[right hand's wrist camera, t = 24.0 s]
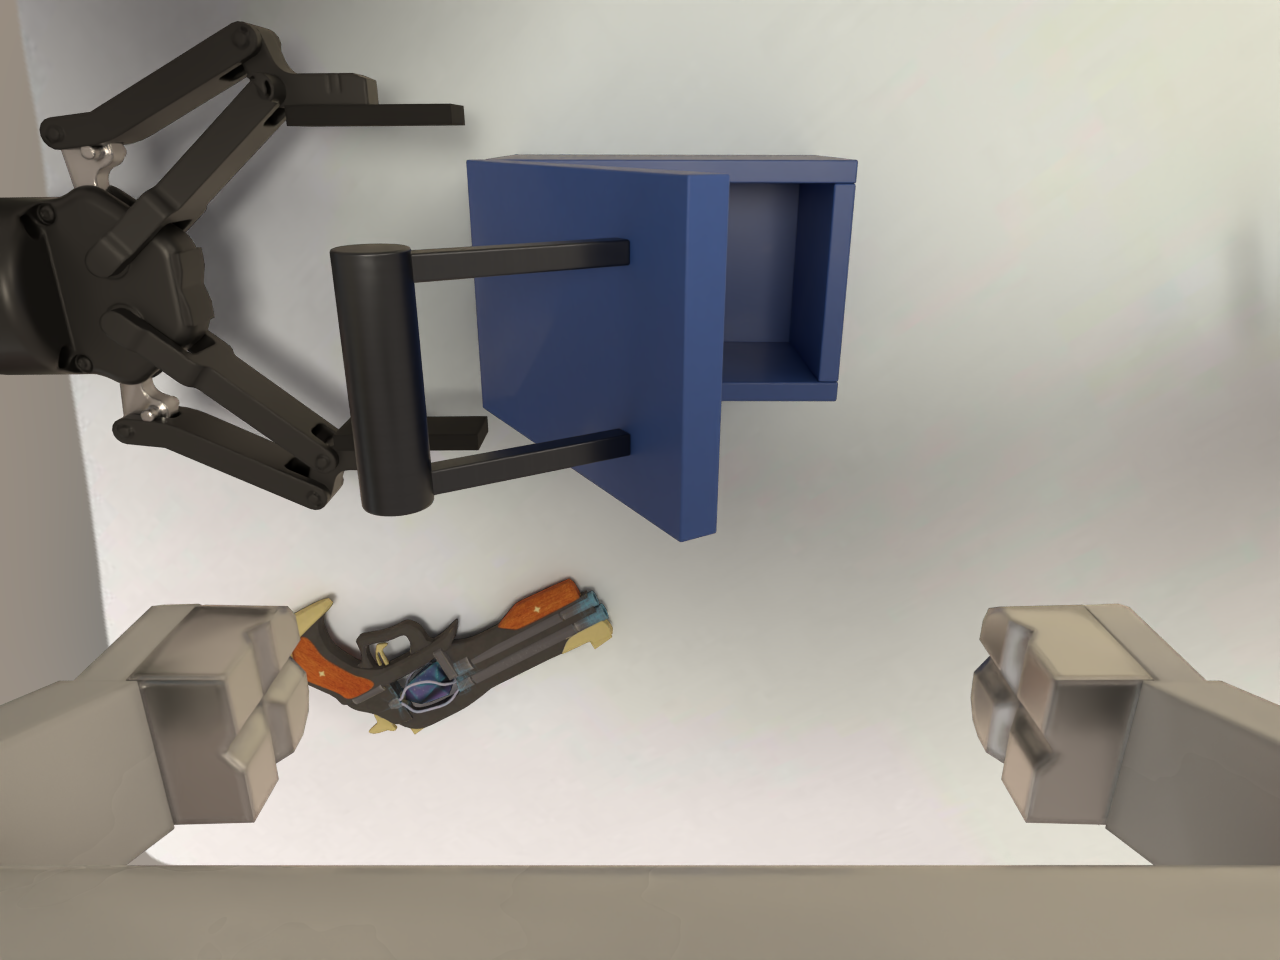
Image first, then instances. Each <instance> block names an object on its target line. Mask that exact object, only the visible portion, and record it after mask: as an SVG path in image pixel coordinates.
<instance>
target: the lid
mask: <svg viewBox="0 0 1280 960" xmlns="http://www.w3.org/2000/svg"><path fill="white" fill-rule="evenodd" d="M466 163H467V178H468V193H469V207H470V222H471V237H472V247H457V248H441V249H425V250H411V249H410V247H408V246H405V245H399V244H357V245H346V246H340V247H335V248H333V249H331V250H330V258H331V266H332V274H333V282H334V290H335V298H336V306H337V313H338V321H339V329H340V337H341V345H342V353H343V361H344V368H345V376H346V384H347V392H348V400H349V408H350V416H351V423H352V431H353V439H354V447H355V455H356V463H357V471H358V478H359V486H360V494H361V502H362V507H363V509H364V510H365V511H366V512H368V513H370V514H373V515H378V516H402V515H408V514H412V513H416V512H419V511H422V510H424V509H426V508H427V507H429V506H430V505H431V504H432V503H433V500H434V495H437V494H442V493H447V492H452V491H456V490H461V489H466V488H471V487H476V486H481V485H486V484H491V483H496V482H501V481H506V480H511V479H516V478H521V477H526V476H531V475H536V474H541V473H545V472H550V471H555V470H560V469H565V468H570V467H571V468H572V469H574V470H575V471H577V472H578V473H580V474H581V475H583V476H584V477H586V478H587V479H588V480H590V481H591V482H593V483H594V484H596V485H597V486H599V487H600V488H602V489H603V490H605V491H606V492H607V493H609V494H610V495H612V496H613V497H615V498H616V499H618V500H619V501H621V502H622V503H624V504H625V505H627V506H628V507H629V508H631V509H632V510H634V511H635V512H637V513H638V514H640V515H641V516H643V517H644V518H646V519H647V520H649V521H650V522H651V523H653V524H654V525H656V526H657V527H659V528H660V529H662V530H663V531H665V532H666V533H668V534H669V535H671V536H672V537H673V538H675V539H676V540H678V541H679V542H684V541H687V540H691V539H695V538H699V537H702V536H706V535H710V534H714V533H716V526H717V499H718V473H719V447H720V421H721V395H722V368H723V342H724V316H725V290H726V264H727V237H728V211H729V185H730V175H729V174H725V173H709V172H693V171H676V170H660V169H643V168H627V167H611V166H594V165H578V164H561V163H545V162H529V161H512V160H467V162H466ZM467 278H474V281H475V296H476V311H477V325H478V340H479V355H480V370H481V384H482V399H483V408H484V409H486V410H487V411H489V412H490V413H492V414H493V415H495V416H496V417H498V418H499V419H501V420H502V421H503V422H505V423H506V424H508V425H509V426H511V427H512V428H514V429H515V430H517V431H518V432H520V433H521V434H522V435H524V436H525V437H527V438H528V439H530V440H531V441H533V442H534V443H536V444H531V445H525V446H520V447H514V448H509V449H503V450H498V451H493V452H487V453H482V454H476V455H471V456H465V457H460V458H454V459H449V460H444V461H438V462H433V463H431V458H430V447H429V436H428V425H427V415H426V404H425V393H424V383H423V372H422V361H421V350H420V340H419V329H418V318H417V308H416V297H415V286H414V283H417V282H430V281H442V280H454V279H467Z"/></svg>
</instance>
